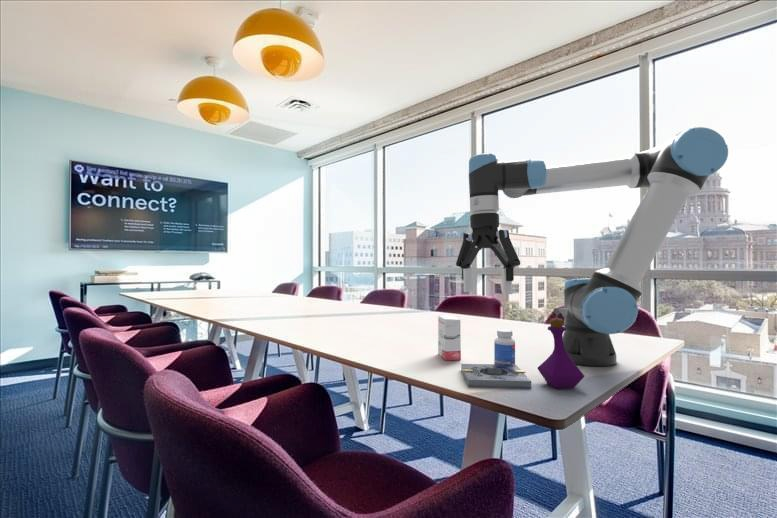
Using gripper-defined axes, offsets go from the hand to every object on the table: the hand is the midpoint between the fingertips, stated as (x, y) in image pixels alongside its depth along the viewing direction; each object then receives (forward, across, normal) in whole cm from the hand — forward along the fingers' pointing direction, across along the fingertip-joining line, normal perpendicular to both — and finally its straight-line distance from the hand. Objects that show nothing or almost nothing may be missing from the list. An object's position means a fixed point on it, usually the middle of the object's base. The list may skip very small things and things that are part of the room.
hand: (486, 293), depth 109 cm
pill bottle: (+20, +2, +4) cm, 21 cm away
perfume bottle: (+20, +20, +1) cm, 29 cm away
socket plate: (+20, +7, -7) cm, 22 cm away
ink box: (+20, -15, -1) cm, 25 cm away
